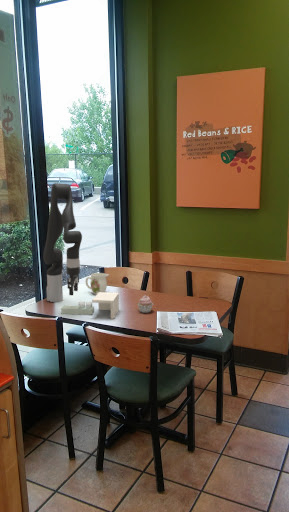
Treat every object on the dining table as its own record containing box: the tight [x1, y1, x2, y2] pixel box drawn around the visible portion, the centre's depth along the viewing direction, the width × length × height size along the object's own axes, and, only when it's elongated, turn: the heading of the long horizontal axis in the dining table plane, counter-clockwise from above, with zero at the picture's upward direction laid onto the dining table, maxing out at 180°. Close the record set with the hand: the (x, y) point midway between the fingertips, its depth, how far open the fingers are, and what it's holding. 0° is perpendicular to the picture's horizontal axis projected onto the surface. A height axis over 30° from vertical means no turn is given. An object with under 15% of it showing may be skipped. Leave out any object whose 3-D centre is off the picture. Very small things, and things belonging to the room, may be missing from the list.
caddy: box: [60, 301, 95, 316], centre depth 240 cm, size 18×6×6 cm, turn 84°
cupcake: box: [137, 295, 154, 314], centre depth 242 cm, size 9×9×10 cm
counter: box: [91, 291, 120, 320], centre depth 238 cm, size 12×16×10 cm
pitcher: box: [85, 272, 110, 296], centre depth 279 cm, size 11×18×14 cm, turn 68°
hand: (73, 293), depth 239 cm, fingers open, 8 cm apart
